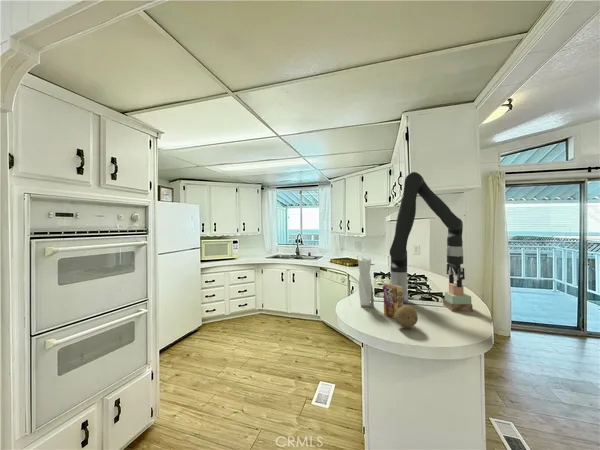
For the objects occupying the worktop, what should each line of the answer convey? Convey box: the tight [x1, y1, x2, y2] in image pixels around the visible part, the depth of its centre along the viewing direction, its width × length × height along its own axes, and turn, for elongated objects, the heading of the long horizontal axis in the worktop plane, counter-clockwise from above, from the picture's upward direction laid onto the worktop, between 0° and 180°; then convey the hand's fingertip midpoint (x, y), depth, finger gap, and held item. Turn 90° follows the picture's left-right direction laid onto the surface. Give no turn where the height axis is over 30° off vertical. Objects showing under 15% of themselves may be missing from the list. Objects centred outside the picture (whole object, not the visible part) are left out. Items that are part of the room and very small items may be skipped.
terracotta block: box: [448, 282, 465, 295], centre depth 135 cm, size 5×5×5 cm
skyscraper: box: [356, 255, 375, 309], centre depth 143 cm, size 8×8×28 cm
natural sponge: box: [394, 304, 419, 330], centre depth 110 cm, size 9×9×10 cm
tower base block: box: [442, 298, 474, 313], centre depth 135 cm, size 10×10×4 cm
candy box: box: [383, 283, 404, 319], centre depth 125 cm, size 9×4×15 cm, turn 26°
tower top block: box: [444, 291, 472, 304], centre depth 134 cm, size 9×9×4 cm
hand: (455, 285), depth 135 cm, fingers open, 8 cm apart
